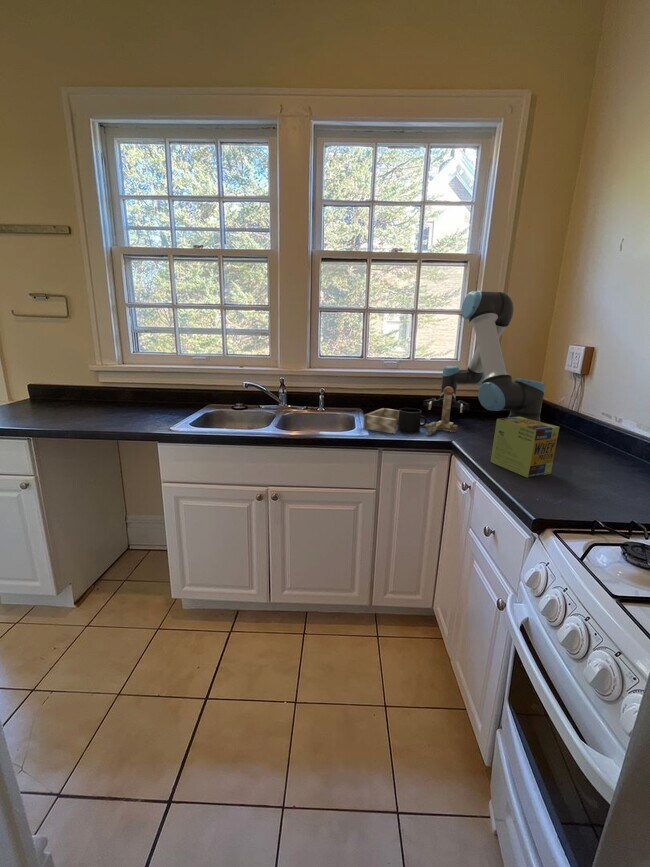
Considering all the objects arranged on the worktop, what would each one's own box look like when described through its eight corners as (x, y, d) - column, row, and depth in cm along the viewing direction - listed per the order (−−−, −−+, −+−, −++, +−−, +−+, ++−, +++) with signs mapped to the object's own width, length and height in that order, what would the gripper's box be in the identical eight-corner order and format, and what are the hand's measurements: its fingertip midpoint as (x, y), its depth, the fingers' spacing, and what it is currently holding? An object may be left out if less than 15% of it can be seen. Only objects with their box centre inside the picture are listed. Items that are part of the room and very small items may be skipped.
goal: (411, 424, 181) (412, 412, 179) (394, 433, 166) (395, 420, 164) (381, 420, 189) (382, 407, 187) (363, 428, 174) (363, 414, 172)
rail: (456, 430, 173) (457, 425, 172) (454, 432, 170) (455, 427, 169) (401, 421, 187) (401, 416, 186) (398, 423, 183) (398, 418, 183)
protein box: (528, 478, 121) (536, 429, 116) (489, 462, 134) (496, 418, 130) (551, 474, 125) (560, 426, 120) (512, 458, 138) (519, 415, 134)
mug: (425, 435, 165) (426, 414, 163) (396, 432, 169) (397, 411, 166) (426, 429, 174) (428, 409, 171) (399, 426, 177) (400, 407, 175)
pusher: (452, 429, 174) (457, 386, 169) (441, 437, 161) (446, 391, 156) (438, 426, 178) (443, 384, 172) (426, 434, 164) (430, 389, 159)
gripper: (473, 409, 192) (473, 419, 172) (420, 405, 199) (416, 413, 180) (474, 394, 190) (476, 402, 170) (422, 390, 197) (417, 397, 178)
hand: (445, 408), depth 175 cm, fingers open, 13 cm apart
